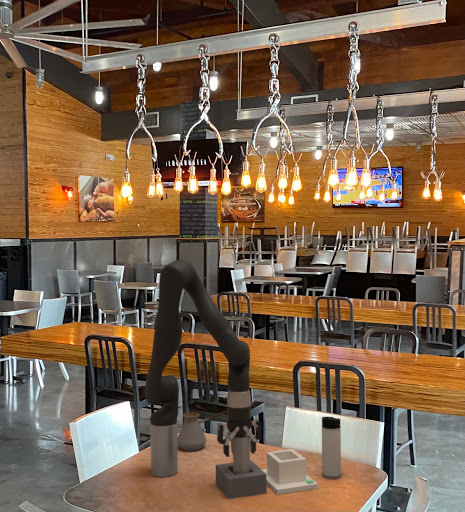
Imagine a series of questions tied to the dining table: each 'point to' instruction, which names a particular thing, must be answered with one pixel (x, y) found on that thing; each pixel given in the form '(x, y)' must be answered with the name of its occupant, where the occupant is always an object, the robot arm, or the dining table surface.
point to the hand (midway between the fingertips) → (239, 454)
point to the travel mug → (331, 448)
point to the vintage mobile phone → (241, 454)
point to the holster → (240, 481)
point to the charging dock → (287, 472)
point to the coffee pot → (193, 432)
